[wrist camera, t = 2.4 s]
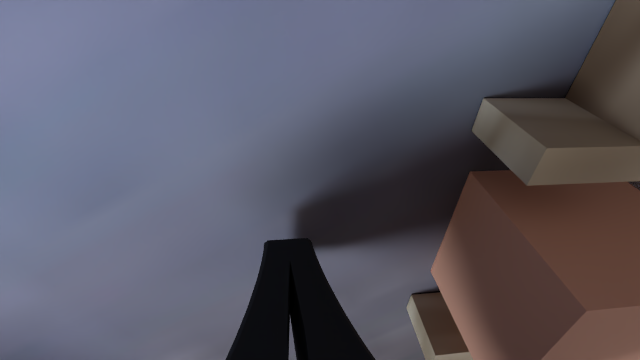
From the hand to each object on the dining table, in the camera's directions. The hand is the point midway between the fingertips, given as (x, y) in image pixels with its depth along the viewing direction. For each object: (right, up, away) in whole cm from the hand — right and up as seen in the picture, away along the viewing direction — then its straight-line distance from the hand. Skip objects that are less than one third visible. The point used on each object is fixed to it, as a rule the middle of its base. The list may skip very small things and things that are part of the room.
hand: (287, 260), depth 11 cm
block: (+8, +1, +2) cm, 8 cm away
